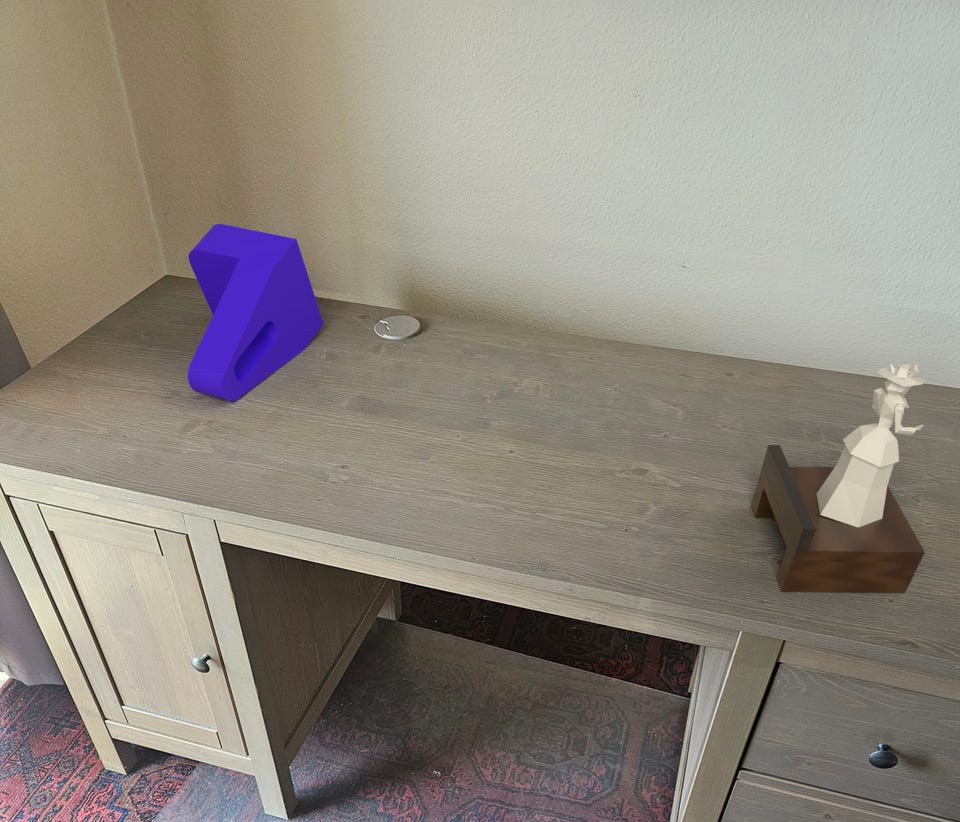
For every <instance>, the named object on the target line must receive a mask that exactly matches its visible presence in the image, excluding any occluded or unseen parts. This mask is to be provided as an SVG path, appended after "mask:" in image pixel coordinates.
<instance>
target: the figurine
mask: <svg viewBox="0 0 960 822" xmlns="http://www.w3.org/2000/svg"><path fill="white" fill-rule="evenodd" d="M877 373H878V374H879V375H881V376H882V377H884V378H885V379H887V380H886V381H885V382H883V384H884V386H885V388H882V387H879V388H876V389H873V398H872V399H873V400H872V405H871V408H872V409H873V411H874V412H875V414H876V415H877V416H878V418H879V419H878V423H876V422H875V423H874V422H873V423H867V424H863V425H859V426H858V427H857V428H856V429H854V430H853V431H852V432H850V433H848V435H846V436H845V437H844V438H843V439H842V441H843V443H844V445H845V446H844V448H843V450H842V452H841V454H840V457H839V458H838V460H837V462H836V465H835V466H834V467H835V468H834V469H833V471H832V472H831V473H830V475H829V476H828V478H827V479H826V481H825V482H824V484H823V485H822V487H821V488H820V489H819V491H818V492H817V499H818V505H819V511H820V515H822V516H825V517H828V518H831V519H834V520H837V521H840V522H843V523H846V524H849V525H852V526H855V527H861V526H864V525H866V524H869V523H872V522H875V521H877V520H880V519H882V516H883V510H884V504H885V497H886V491H887V485H888V486H889V482H890V479H891V476H892V472H893V468H894V465H895V464H896V463H899V462H900V451H899V450H900V449H899V442H898V439H897V437H896V436H895V435H894V434H893V433H892V432H891V430H890V429H891V427H892V426H893V424H894V433H895V434H902V435H914V434H915V433H916V432H919V431H920V430H922V427H924V424H920V425H916V426H914V427H908V426H907V427H905V426H903V425H902V421H903V416H904V415H905V409H909V408H910V406H909V404H908V401H907V399H906V398H905V395H906V394H907V393H908V391H909V390H911V388H913V386H921V385H923V384H925V383H926V382H927V381H926V380H925V379H922V378H921V377H919V376H917V375H918V374H919V368H918V362H915V363H914V364H909V363H906V361H904V362H903V363H902V364H898V365H897V366H896V367H895V366H893V364H892V363H890V368H887V367H882V368H880V369H879V370H878V371H877Z"/></svg>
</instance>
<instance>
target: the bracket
mask: <svg viewBox="0 0 960 822" xmlns="http://www.w3.org/2000/svg"><path fill="white" fill-rule="evenodd" d="M297 239H298V238H295V237H289V236H284V235H279V234H275V233H269V232H264V231H260V230H259V231H258V230H254V229H248V228H244V227H239V226H234V225H230V224H224V223H215V224H214V225H212V227H211V228H210V229H209V230H208V231H207V232H206V233H205V234H204V235H203V236H202V238H201V239H200V240H199V241H198V242H197V243H196V244H195V246H194V247H193V248H192V249H191V251H189V253H188V262H189V265H190V267H191V269H192V272H193V273H194V276H195V278H196V281H197V283H198V285H199V287H200V289H201V291H202V294H203V296H204V299H205V300H206V302H207V306H208V307H209V309H210V311H211V314H212V317H211V319H210V322H209V324H208V326H207V327H206V330H205V332H204V334H203V336H202V338H201V340H200V342H199V345H198V347H197V349H196V351H195V352H194V355H193V357H192V359H191V362H190V364H189V366H188V369H187V381H188V384H189V387H190V388H191V390H192V391H194V392H196V393H200V394H204V395H207V396H211V397H214V398H218V399H221V400H225V401H230V402H234V401H237V400H239V399H240V398H241V397H242V396H244V395H245V394H246V393H248V392H249V391H251V390H252V389H253V388H254V387H256V386H258V385H259V384H260V383H262V382H264V381H265V379H267V378H268V377H270V376H271V375H273V374H274V373H275V372H276V371H278V370H279V369H280V368H281V367H283V366H285V365H286V364H287V363H288V362H289V361H291V360H292V359H294V358H295V357H296V356H298V355H299V354H301V353H302V352H304V350H305V349H306V348H307V347H308V345H309V344H310V343H311V341H312V340H313V339H314V337H315V336H316V334H317V333H318V332H319V331H320V329H321V328H322V326H323V325H324V320H323V317H322V314H321V311H320V308H319V304H318V302H317V299H316V295H315V292H314V289H313V286H312V283H311V279H310V277H309V274H308V270H307V267H306V263H305V260H304V258H303V255H302V252H301V248H300V246H299V242H298V240H297Z"/></svg>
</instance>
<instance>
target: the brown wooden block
mask: <svg viewBox="0 0 960 822" xmlns="http://www.w3.org/2000/svg"><path fill="white" fill-rule="evenodd" d="M761 465H762V466H761V469H760V473H759V476H758V478H757V479H758V480H757V483H756V486H755V490H754V494H753V497H752V501H751V503H750V508H751V512H752V514H753V517H754V518H755V519H775V521H776V524H777V526H778V529H779V532H780V534H781V536H782V538H783V542H784V544H785V547H786V548H785V552H784V554H783V558H782V561H781V563H780V566H779V569H778V572H777V575H776V580H777V583H778V586H779V590H780V592H781V593H853V594H854V593H855V594H856V593H861V594H862V593H863V594H865V593H866V594H867V593H868V594H905V593H906V592H907V590H908V588H909V586H910V584H911V581H912V580H913V578H914V576H915V574H916V572H917V569H918V567H919V565H920V564H921V561H922V560H923V558H924V556H925V554H926V551H925V549H924V548H923V545H922V544H921V542H920V540H919V539H918V537H917V535H916V533H915V531H914V530H913V528H912V526H911V525H910V523H909V521H908V519H907V517H906V515H905V514H904V512H903V509H902V508H901V507H900V505H899V503H898V501H897V499H896V498H895V496H894V494H893V493H892V491H891V489H890V487H889V484H888V485H887V491H886V497H885V504H884V510H883V516H882V519H880V520H877V521H875V522H872V523H869V524H866V525H864V526H861V527H855V526H852V525H849V524H846V523H843V522H840V521H837V520H834V519H831V518H828V517H825V516H822V515H820V511H819V505H818V499H817V492H818V491H819V489H820V488H821V487H822V485H823V484H824V482H825V481H826V479H827V478H828V476H829V475H830V473H831V472H832V471H833V469H834V468H835V466H789V462H788V461H787V458H786V456H785V453H784V451H783V449H782V447H781V445H780V444H768V445H767V447H766V451H765V455H764V458H763V462H762V464H761Z"/></svg>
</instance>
